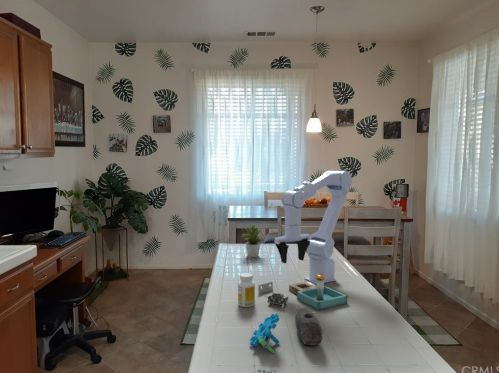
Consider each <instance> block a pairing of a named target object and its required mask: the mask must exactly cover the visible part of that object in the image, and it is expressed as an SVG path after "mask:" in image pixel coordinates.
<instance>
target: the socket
mask: <svg viewBox="0 0 499 373" xmlns="http://www.w3.org/2000/svg"><path fill="white" fill-rule="evenodd" d="M288 287H289V288H288V291H289V292H292V293H293V294H295V295H297V292H298V291H303V290H307V289H312V288H316V286H315V285H313V284H310V283H308V282H306V281H302V282H301V281H300V282H296V283H292V284H289V285H288Z"/></svg>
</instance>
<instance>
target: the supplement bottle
mask: <svg viewBox="0 0 499 373" xmlns="http://www.w3.org/2000/svg"><path fill="white" fill-rule="evenodd" d="M253 276H254V275H253V274H252V273H247V272H244V273H243V272H242V273H241V274H240V277H239V279H240V280H239V281H238V283H237V294H238V295H237V304H238V306H240V307H243V308H249V307H250V308H251V307H253V306H254V305H255V304H256V299H255V298H256V296H255V294H256V293H255V289H256V286H255V285H256V284H255V281H254V280H253Z"/></svg>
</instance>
